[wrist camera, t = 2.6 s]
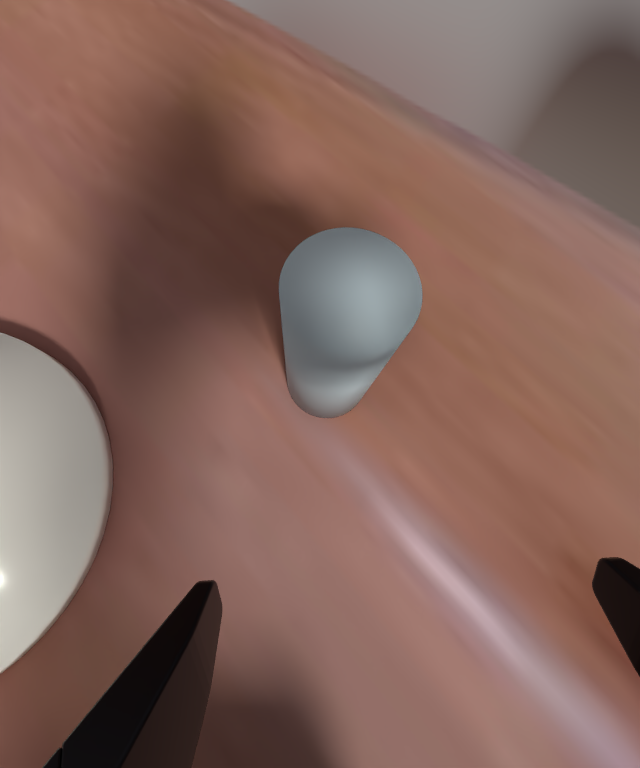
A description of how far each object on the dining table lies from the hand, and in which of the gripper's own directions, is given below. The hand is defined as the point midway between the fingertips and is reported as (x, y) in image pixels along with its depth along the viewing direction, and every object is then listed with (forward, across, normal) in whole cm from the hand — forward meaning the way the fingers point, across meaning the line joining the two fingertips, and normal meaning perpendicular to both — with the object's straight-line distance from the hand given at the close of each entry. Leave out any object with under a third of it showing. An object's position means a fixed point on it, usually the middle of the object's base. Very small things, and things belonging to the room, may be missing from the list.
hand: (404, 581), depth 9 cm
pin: (+15, +2, +1) cm, 16 cm away
